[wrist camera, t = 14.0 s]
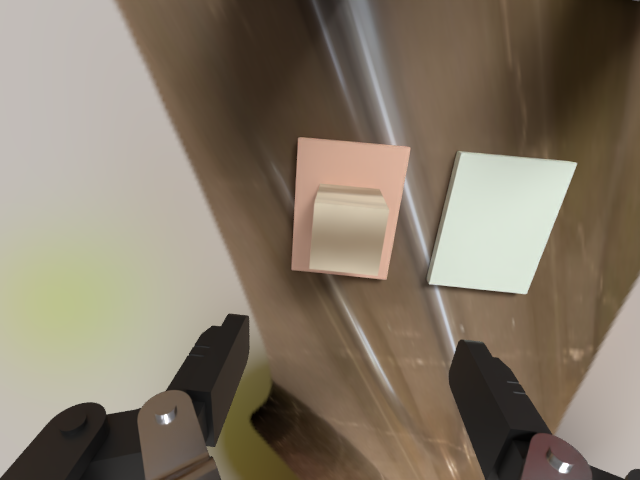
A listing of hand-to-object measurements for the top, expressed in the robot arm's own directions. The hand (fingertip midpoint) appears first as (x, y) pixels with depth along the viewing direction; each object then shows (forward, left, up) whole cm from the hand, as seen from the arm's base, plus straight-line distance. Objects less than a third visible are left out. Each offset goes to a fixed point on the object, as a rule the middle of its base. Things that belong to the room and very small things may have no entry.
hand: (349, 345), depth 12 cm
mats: (0, +6, -18) cm, 19 cm away
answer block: (0, 0, -17) cm, 17 cm away
